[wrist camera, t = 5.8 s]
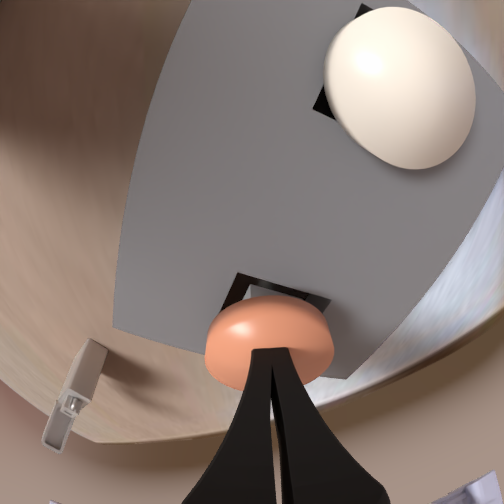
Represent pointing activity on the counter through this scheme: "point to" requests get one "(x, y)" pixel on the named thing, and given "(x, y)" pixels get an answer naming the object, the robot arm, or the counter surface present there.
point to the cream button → (400, 87)
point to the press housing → (284, 185)
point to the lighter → (74, 394)
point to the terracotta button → (267, 336)
